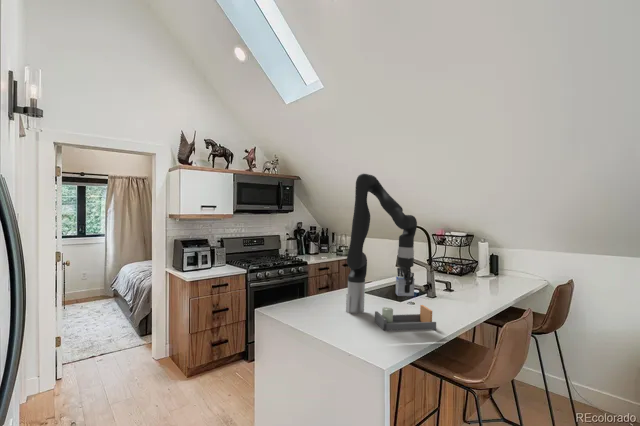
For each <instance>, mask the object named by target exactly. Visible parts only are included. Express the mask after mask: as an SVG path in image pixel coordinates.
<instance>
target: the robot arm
mask: <svg viewBox="0 0 640 426" xmlns="http://www.w3.org/2000/svg"><path fill="white" fill-rule="evenodd" d="M354 192H355V196H354V198H355V199H354V208H353V216H352V223H351V233H350V234H351V235H350V242H349V248H348V252H347V256H346V263H347V266H348V268H349V269H350V271H349V274H348V275H347V293H346V296H345V297H346V299H345V301H346V302H345V304H346V305H345V312H346V313H347V314H355V315H360V314H361V315H362V314H364V313H365V296H366V295H365V291H366V277H367V269H368V257H367V256H366V254H365V253H364V252H363V251H364V244H365V241H366V238H367V235H368V234H369V229H370V225H371V224H370V223H371V213H370V209H369V205H368V194H369V193H371V194H372V195H374V196H375V197H376V198H377V200H378V202H379V204H380V206H381V208H382V209H383V210H384V211H385V212H386V213H387V214H388V215H389V216H390V217H391V220H393V222H394V224H395V226H397V228H399V229H400V230H403V231H402V233H401V234H400V235H399V236H398V249H397V266H399V267H397V269H396V270H397V276H400V277H401V276H402V277H403V280H404V281H405V293H409V292H410V285H412V284H413V278H414V277H415V276H414V275H415V273H414V272H412V270H411V268H412V267H414V262H415V261H414V260H415V249H414V245H415V244H414V243H415V242H414V241H415V235H416V232H417V228H418V227H417V226H418V221H417V218H416V217H415V216H414V215H412V214H405V213H404V212H403V211H404V210H403V207H402V205H400V204H399V202H398V201H396V200H395V199H394V198H393V197H392V196H391V195H390V194H389V192H387V190H386V189H385V187H383V186H382V184H381V182H380V181H379V180H378V178H377V177H376V176H375V175H373V174H369V173H360V174H359V175H357V178H356V181H355V191H354ZM410 280H411V282H410Z"/></svg>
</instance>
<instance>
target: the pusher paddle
mask: <svg viewBox="0 0 640 426" xmlns="http://www.w3.org/2000/svg"><path fill="white" fill-rule="evenodd" d="M419 306H420V308H419V309H420V310H419V314H420V321H421V322H433V310H432V309H430V308H428V307H427V306H425V305H423V304H420V305H419Z"/></svg>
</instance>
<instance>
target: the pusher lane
mask: <svg viewBox="0 0 640 426" xmlns="http://www.w3.org/2000/svg"><path fill="white" fill-rule="evenodd" d="M374 323H376V324H377V325H378V327H379V328H380V329H382V331H383V332H389V331H391V332H392V331H393V332H394V331H415V330H433V331H437V321H432V322H421V321H420V313H415V314H414V313H410V314H408V313H406V314H393V323H387V320H386V319H385V318H384V317H383V316H382V313H380V312H379V311H376V310H375V311H374Z"/></svg>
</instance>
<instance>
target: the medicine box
mask: <svg viewBox="0 0 640 426" xmlns="http://www.w3.org/2000/svg"><path fill="white" fill-rule="evenodd" d="M410 282H411V280H410ZM395 294H396V296H398V297H414V296H415V278H414V277H413V284H412V285H410V292H409V293H405V281H404V280H403V277H402V276H401V277H400V276H398V275H397V276H396V277H395Z"/></svg>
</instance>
